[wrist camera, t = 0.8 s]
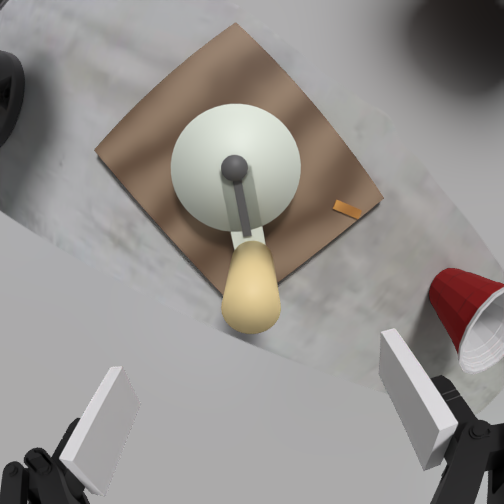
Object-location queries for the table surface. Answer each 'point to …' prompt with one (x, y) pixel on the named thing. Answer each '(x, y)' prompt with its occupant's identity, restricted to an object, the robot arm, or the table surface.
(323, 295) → the table surface
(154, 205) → the base plate
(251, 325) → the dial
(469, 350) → the plastic cup
